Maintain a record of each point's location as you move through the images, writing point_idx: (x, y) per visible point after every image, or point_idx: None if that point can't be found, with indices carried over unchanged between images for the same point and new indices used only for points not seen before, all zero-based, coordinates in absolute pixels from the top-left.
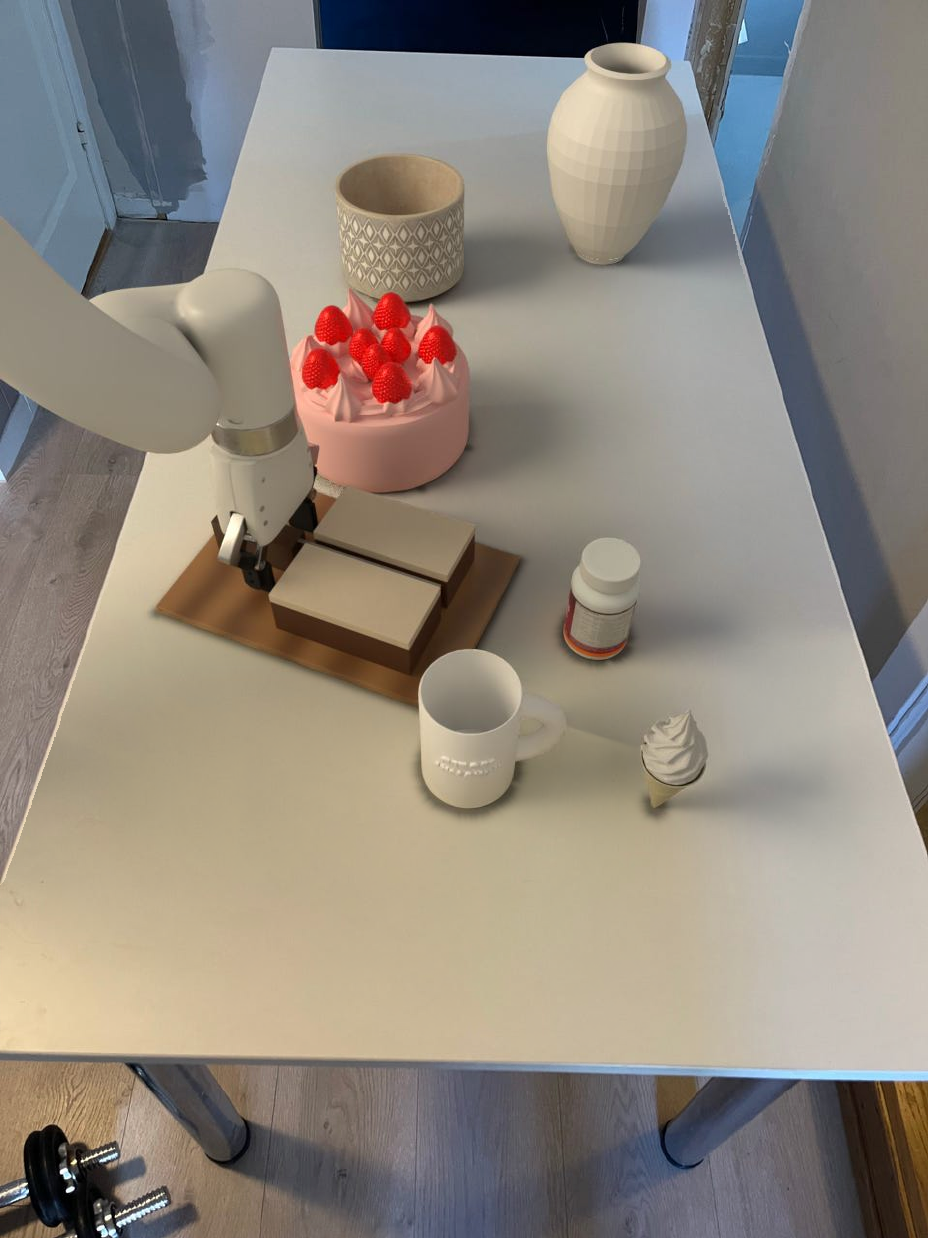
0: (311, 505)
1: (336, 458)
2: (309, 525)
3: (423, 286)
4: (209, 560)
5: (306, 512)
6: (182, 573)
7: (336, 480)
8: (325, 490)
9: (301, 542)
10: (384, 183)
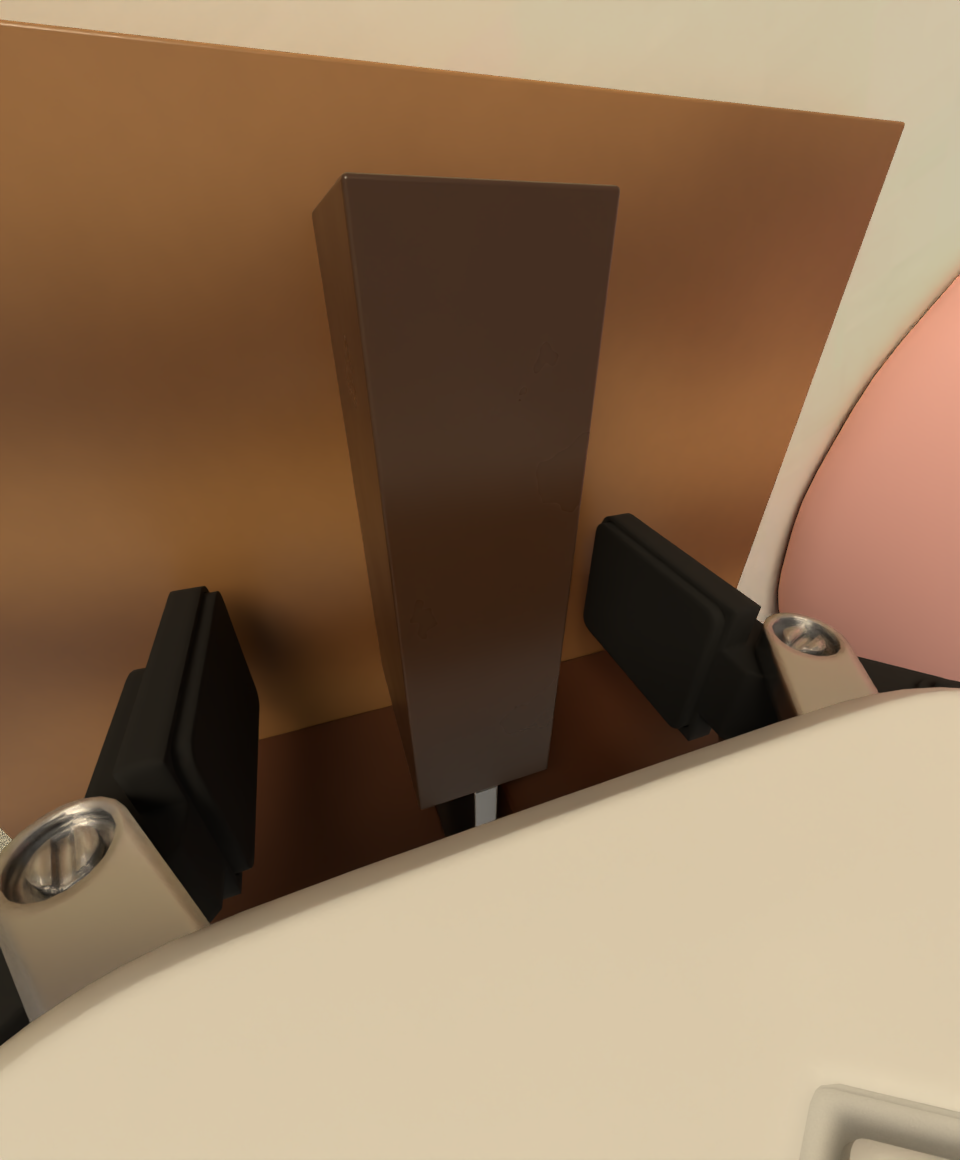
0: (690, 738)
1: (947, 563)
2: (606, 634)
3: None
4: (180, 205)
5: (655, 684)
6: None
7: (831, 496)
8: (789, 451)
9: (476, 806)
10: None
